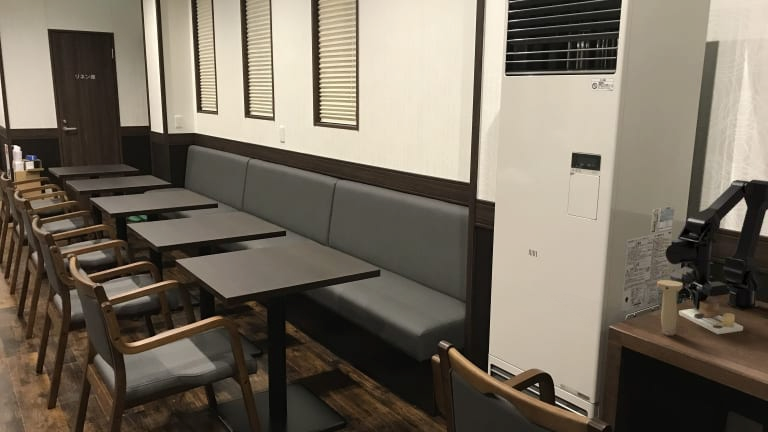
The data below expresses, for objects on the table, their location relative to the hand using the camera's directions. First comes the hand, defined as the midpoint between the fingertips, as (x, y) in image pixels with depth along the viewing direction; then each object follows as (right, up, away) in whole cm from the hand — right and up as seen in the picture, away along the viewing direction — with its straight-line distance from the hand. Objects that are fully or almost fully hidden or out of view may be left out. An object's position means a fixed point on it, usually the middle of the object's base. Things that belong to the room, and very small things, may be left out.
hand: (697, 309), depth 182 cm
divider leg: (0, -1, -3) cm, 4 cm away
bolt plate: (+1, -3, -5) cm, 6 cm away
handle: (-14, -6, -11) cm, 18 cm away
